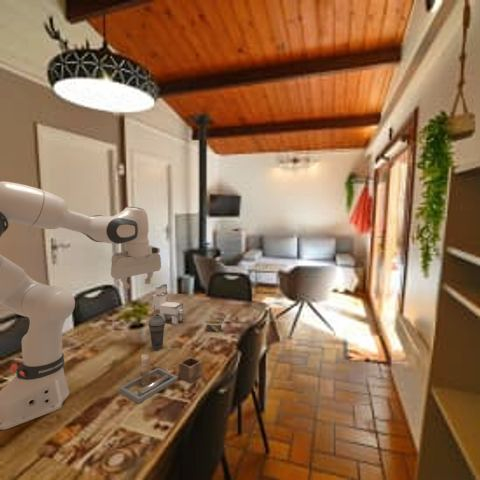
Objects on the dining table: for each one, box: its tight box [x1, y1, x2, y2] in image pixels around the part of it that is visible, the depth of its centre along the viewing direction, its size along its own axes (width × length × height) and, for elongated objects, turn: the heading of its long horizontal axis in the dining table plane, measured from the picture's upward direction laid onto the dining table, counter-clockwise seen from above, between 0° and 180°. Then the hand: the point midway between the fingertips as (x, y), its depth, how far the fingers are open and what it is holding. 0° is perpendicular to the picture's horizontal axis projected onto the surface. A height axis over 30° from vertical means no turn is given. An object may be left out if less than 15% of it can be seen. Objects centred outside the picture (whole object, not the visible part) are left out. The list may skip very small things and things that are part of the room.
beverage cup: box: [148, 305, 166, 351], centre depth 142 cm, size 7×7×20 cm
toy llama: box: [151, 283, 185, 326], centre depth 175 cm, size 8×18×20 cm, turn 71°
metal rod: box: [137, 375, 170, 397], centre depth 110 cm, size 12×2×2 cm, turn 144°
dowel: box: [140, 352, 151, 387], centre depth 113 cm, size 3×3×11 cm
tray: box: [118, 367, 179, 405], centre depth 112 cm, size 17×11×2 cm, turn 144°
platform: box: [204, 318, 224, 333], centre depth 163 cm, size 12×18×7 cm, turn 83°
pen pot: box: [178, 356, 203, 384], centre depth 118 cm, size 6×6×6 cm
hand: (137, 286), depth 120 cm, fingers open, 8 cm apart
